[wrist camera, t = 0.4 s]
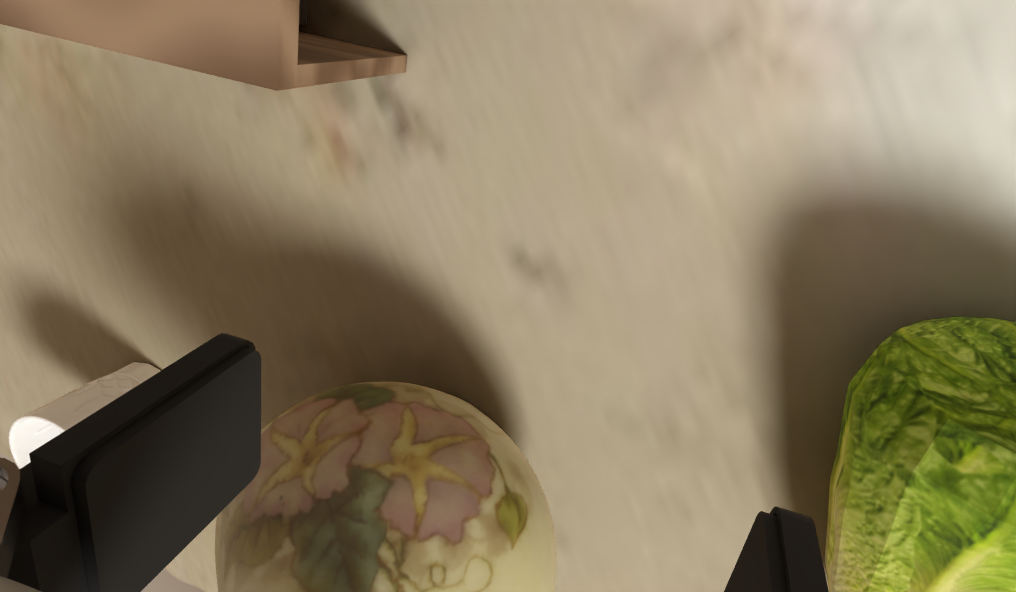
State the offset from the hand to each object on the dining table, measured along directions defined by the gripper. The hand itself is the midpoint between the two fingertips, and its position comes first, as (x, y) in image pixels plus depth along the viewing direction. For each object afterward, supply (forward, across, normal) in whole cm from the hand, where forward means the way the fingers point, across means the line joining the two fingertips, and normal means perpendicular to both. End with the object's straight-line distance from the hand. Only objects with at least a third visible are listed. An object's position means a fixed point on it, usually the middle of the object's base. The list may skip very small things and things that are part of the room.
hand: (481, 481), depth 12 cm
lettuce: (+31, -21, +15) cm, 40 cm away
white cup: (+30, +37, +30) cm, 56 cm away
